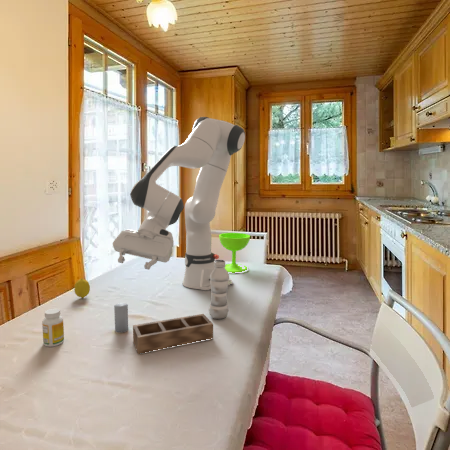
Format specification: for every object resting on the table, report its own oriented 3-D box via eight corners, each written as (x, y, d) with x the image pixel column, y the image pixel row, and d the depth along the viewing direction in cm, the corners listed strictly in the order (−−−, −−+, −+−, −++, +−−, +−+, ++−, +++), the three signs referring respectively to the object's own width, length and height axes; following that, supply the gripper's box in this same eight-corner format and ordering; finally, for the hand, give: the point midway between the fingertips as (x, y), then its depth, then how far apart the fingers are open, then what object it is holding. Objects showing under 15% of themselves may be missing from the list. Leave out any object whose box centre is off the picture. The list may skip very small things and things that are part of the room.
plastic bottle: (208, 313, 120) (209, 258, 117) (227, 313, 121) (228, 258, 118) (209, 321, 114) (210, 263, 111) (229, 321, 114) (230, 263, 111)
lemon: (84, 301, 129) (83, 281, 128) (71, 300, 130) (70, 280, 129) (93, 296, 134) (92, 276, 133) (80, 295, 135) (79, 275, 134)
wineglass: (218, 265, 184) (219, 232, 181) (248, 265, 184) (249, 233, 181) (217, 273, 168) (218, 238, 166) (249, 274, 168) (250, 238, 165)
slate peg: (127, 326, 109) (126, 302, 108) (129, 331, 106) (128, 306, 104) (114, 328, 108) (113, 304, 106) (115, 333, 104) (115, 308, 103)
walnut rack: (203, 328, 109) (203, 313, 108) (212, 339, 101) (213, 324, 101) (133, 341, 99) (132, 325, 99) (138, 354, 92) (138, 337, 92)
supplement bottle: (40, 347, 95) (38, 315, 93) (47, 338, 100) (45, 307, 98) (61, 346, 96) (59, 314, 94) (66, 337, 101) (64, 306, 99)
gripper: (121, 222, 120) (102, 252, 111) (176, 234, 116) (160, 266, 107) (125, 234, 124) (106, 263, 115) (177, 245, 121) (163, 277, 112)
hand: (133, 265), depth 111 cm, fingers open, 8 cm apart
